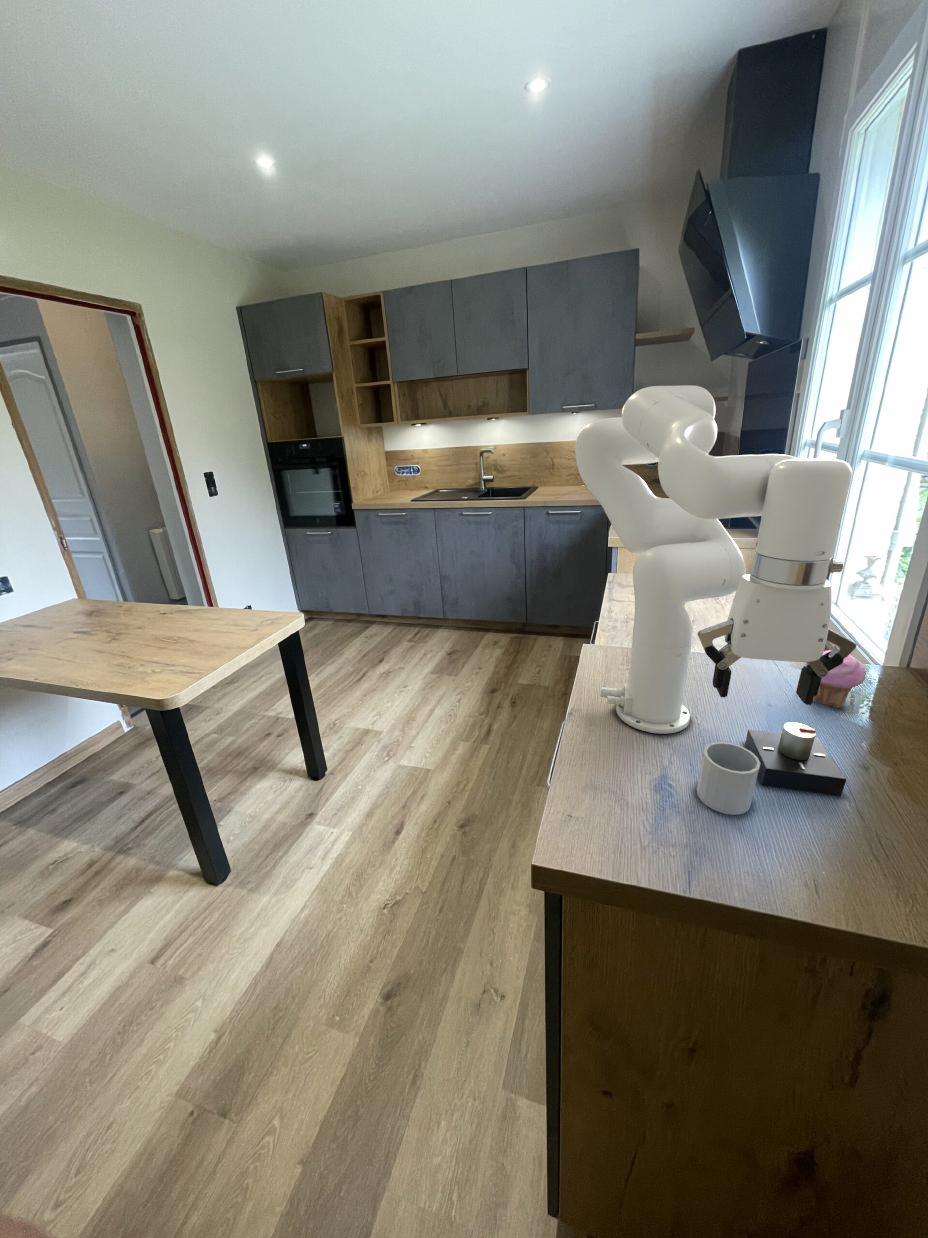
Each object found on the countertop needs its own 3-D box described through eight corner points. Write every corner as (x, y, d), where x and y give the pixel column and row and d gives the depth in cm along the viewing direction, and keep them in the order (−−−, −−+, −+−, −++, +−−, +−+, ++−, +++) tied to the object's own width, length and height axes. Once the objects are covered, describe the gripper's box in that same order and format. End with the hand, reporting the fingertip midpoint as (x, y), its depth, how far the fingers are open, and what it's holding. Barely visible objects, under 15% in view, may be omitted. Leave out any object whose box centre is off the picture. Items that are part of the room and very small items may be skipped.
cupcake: (795, 703, 91) (808, 656, 87) (800, 684, 97) (812, 639, 93) (855, 719, 86) (871, 668, 82) (856, 698, 92) (870, 650, 88)
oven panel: (762, 785, 71) (766, 767, 70) (744, 744, 80) (748, 728, 79) (841, 796, 68) (847, 778, 67) (814, 753, 77) (818, 736, 76)
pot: (701, 810, 67) (709, 769, 64) (693, 778, 73) (700, 739, 70) (756, 819, 65) (766, 777, 62) (743, 785, 71) (752, 745, 69)
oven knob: (783, 758, 72) (789, 734, 70) (774, 742, 75) (780, 718, 74) (813, 762, 71) (821, 737, 69) (803, 746, 74) (810, 722, 73)
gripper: (858, 563, 58) (824, 688, 65) (702, 559, 62) (685, 676, 69) (893, 581, 52) (851, 718, 58) (715, 575, 56) (695, 704, 62)
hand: (761, 695), depth 63 cm, fingers open, 9 cm apart
